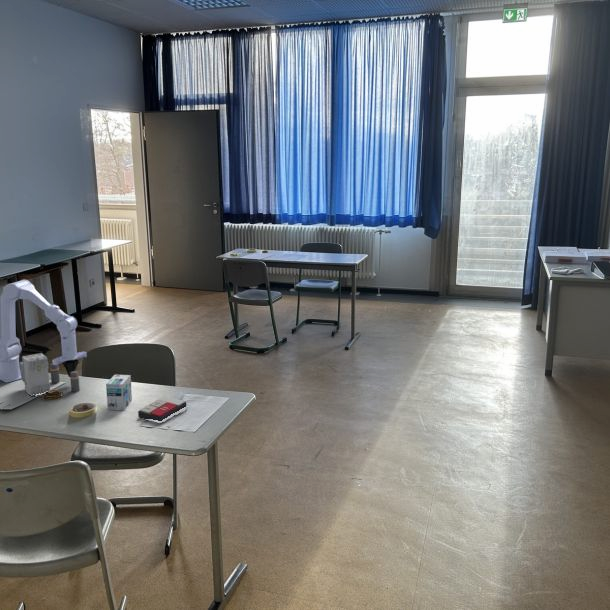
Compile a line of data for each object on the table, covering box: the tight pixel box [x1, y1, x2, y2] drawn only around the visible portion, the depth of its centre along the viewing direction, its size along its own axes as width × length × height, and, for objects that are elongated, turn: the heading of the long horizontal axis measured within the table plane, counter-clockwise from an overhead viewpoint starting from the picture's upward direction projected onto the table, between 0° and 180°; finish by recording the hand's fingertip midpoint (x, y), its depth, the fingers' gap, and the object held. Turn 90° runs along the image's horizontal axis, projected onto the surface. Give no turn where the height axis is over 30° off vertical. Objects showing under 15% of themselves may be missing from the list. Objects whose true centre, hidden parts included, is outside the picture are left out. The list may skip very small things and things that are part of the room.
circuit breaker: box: [19, 352, 51, 396], centre depth 247 cm, size 8×14×15 cm, turn 40°
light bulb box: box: [105, 374, 133, 411], centre depth 234 cm, size 11×7×11 cm, turn 179°
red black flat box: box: [137, 395, 187, 421], centre depth 228 cm, size 11×4×15 cm
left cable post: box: [49, 362, 61, 384], centre depth 256 cm, size 3×3×8 cm
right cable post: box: [69, 370, 80, 393], centre depth 248 cm, size 3×3×8 cm
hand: (71, 376), depth 254 cm, fingers closed
